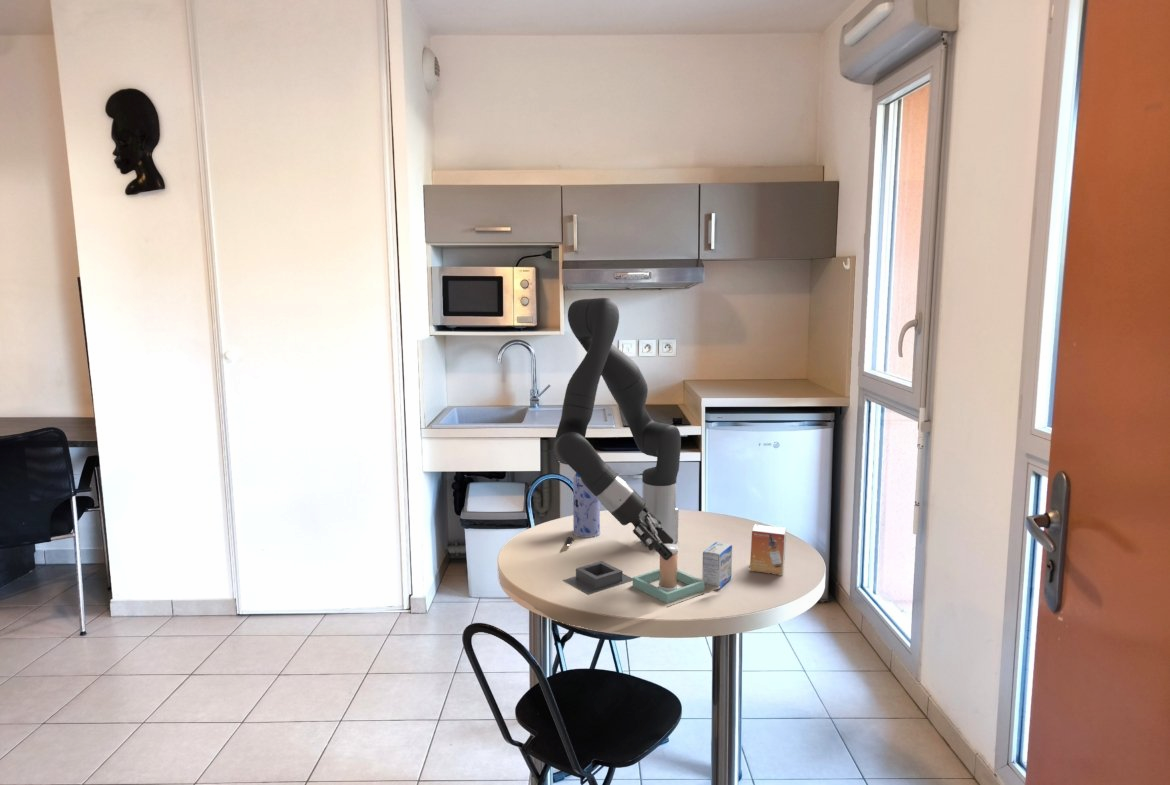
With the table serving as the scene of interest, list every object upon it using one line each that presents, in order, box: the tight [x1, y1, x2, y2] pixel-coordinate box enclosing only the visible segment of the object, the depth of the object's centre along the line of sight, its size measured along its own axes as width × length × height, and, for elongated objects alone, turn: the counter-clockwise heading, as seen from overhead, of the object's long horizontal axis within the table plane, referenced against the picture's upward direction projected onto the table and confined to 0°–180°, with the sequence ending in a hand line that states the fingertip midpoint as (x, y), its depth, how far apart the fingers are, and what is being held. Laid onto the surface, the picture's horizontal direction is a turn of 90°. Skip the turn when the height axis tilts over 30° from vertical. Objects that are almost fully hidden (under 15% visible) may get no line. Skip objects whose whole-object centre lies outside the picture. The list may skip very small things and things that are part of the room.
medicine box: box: [701, 541, 733, 591], centre depth 171 cm, size 8×4×9 cm, turn 148°
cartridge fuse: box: [658, 544, 679, 592], centre depth 165 cm, size 4×4×10 cm
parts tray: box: [632, 568, 705, 608], centre depth 166 cm, size 12×12×3 cm
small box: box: [749, 524, 787, 576], centre depth 179 cm, size 8×6×10 cm
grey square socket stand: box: [562, 560, 633, 596], centre depth 170 cm, size 14×10×4 cm
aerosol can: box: [572, 472, 601, 539], centre depth 204 cm, size 8×8×20 cm
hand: (670, 550), depth 165 cm, fingers open, 8 cm apart
